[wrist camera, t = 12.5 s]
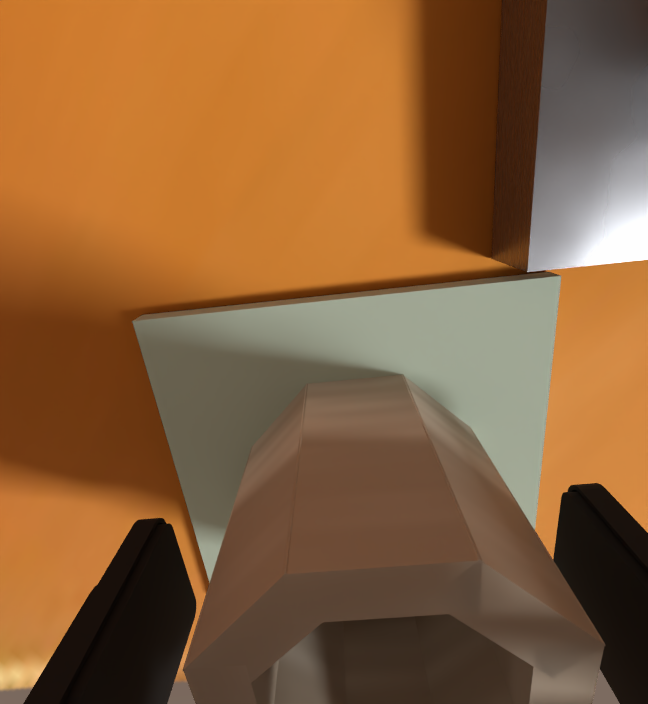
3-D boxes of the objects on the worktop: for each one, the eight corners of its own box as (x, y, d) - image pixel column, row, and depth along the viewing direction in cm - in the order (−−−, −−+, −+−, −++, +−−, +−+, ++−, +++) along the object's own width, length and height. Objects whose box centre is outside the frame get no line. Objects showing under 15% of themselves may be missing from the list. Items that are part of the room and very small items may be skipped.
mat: (549, 271, 10) (561, 276, 10) (520, 575, 14) (528, 590, 14) (142, 314, 11) (132, 321, 10) (222, 596, 15) (218, 611, 14)
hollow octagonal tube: (472, 367, 11) (627, 548, 5) (467, 545, 13) (571, 804, 8) (240, 389, 11) (150, 583, 6) (275, 560, 13) (237, 818, 8)
